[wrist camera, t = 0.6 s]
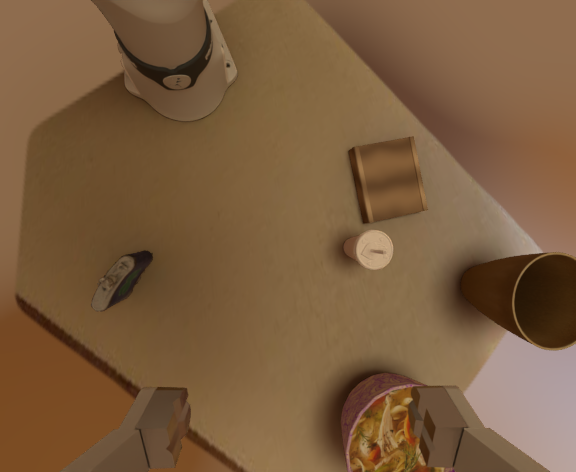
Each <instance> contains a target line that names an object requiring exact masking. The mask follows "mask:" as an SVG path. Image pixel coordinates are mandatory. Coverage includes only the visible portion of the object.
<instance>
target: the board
mask: <svg viewBox="0 0 576 472" xmlns="http://www.w3.org/2000/svg"><path fill="white" fill-rule="evenodd" d="M349 155H350V160H351V165H352V170H353V175H354V180H355V185H356V190H357V195H358V200H359V205H360V210H361V215H362V220H363V223H371V222H375V221H380V220H385V219H389V218H394V217H398V216H403V215H407V214H412V213H416V212H421V211H426V210H428V209H427V203H426V198H425V193H424V188H423V183H422V177H421V172H420V167H419V162H418V157H417V151H416V146H415V141H414V136H412V137H408V138H403V139H397V140H391V141H386V142H380V143H375V144H369V145H363V146H356V147H353V148H352V149H351V150H349Z"/></svg>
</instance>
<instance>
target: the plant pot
mask: <svg viewBox="0 0 576 472" xmlns="http://www.w3.org/2000/svg"><path fill="white" fill-rule="evenodd" d="M461 291H462V293H463V295H464V297H465V298H466V299H467V300H468V301H469V302H470V303H471V304H472V305H473V306H475V307H476V308H477V309H478V310H479V311H480V312H482V313H483V314H484V315H486V316H487V317H488V318H490V319H491V320H493V321H494V322H495V323H497V324H498V325H500V326H501V327H503V328H505V329H506V330H508V331H510V332H511V333H513V334H515V335H517V336H518V337H520V338H522V339H524V340H526V341H527V342H529V343H531V344H533V345H535V346H537V347H539V348H541V349H545V350H562V349H565V348H568V347H570V346H572V345H574V344H576V258H575V257H573V256H571V255H569V254H565V253H560V252H553V253H539V254H529V255H520V256H514V257H508V258H503V259H498V260H494V261H490V262H487V263H483V264H480V265H478V266H475V267H472V268H470V269H468V270H467V271H466V272H465V273H464V275H463V277H462V279H461Z"/></svg>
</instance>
